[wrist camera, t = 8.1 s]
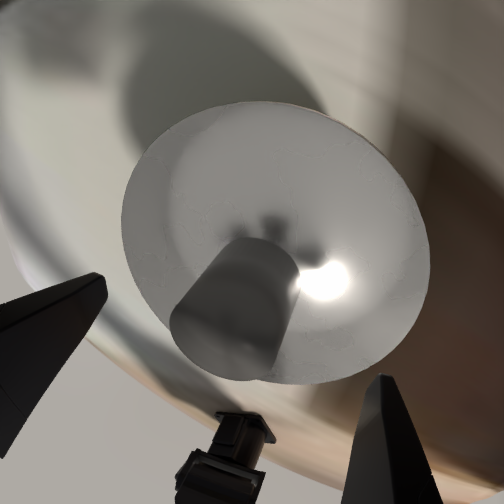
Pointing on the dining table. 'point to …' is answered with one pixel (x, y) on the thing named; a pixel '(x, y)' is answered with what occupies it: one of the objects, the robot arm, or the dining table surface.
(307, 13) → the dining table surface
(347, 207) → the lid
